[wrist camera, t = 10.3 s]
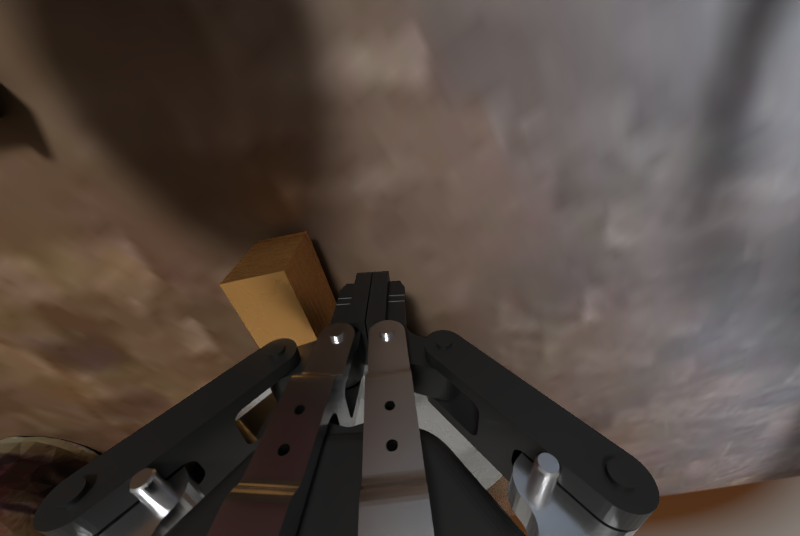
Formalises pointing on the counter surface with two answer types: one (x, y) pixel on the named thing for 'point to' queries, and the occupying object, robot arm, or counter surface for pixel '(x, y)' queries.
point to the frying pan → (316, 324)
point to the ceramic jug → (33, 477)
